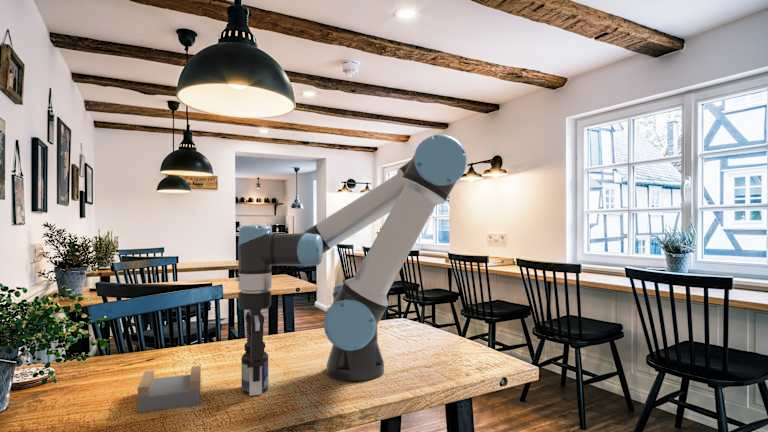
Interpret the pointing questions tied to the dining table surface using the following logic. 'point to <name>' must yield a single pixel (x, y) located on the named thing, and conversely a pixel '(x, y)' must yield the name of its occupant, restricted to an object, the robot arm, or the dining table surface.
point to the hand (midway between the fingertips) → (254, 389)
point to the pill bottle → (246, 371)
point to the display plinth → (169, 391)
